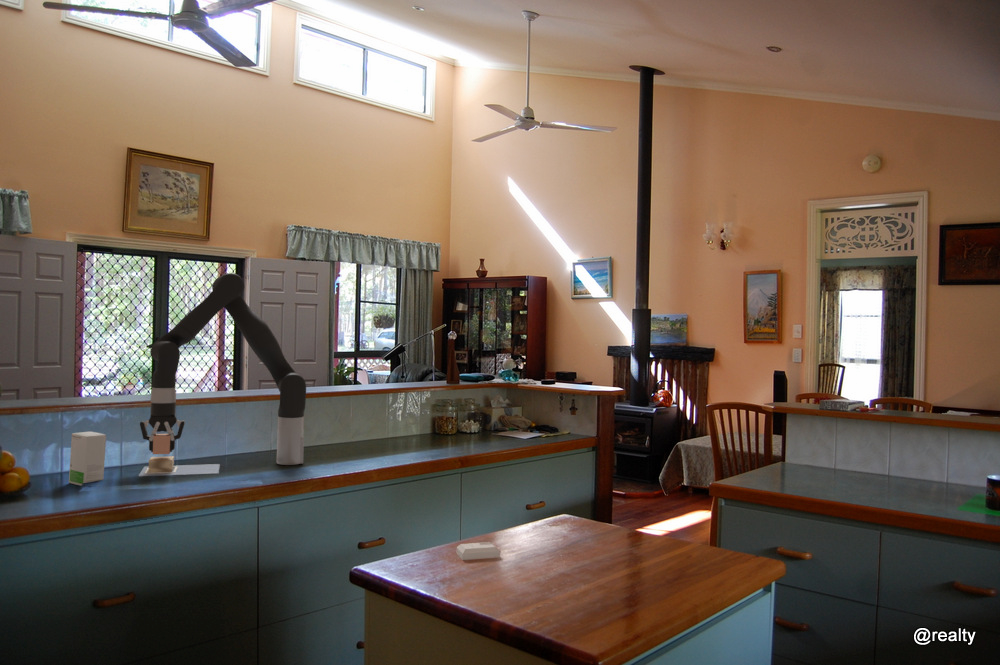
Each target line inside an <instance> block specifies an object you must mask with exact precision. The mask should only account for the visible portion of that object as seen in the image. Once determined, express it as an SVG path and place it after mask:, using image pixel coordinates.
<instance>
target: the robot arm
mask: <svg viewBox="0 0 1000 665" xmlns="http://www.w3.org/2000/svg"><path fill="white" fill-rule="evenodd" d="M211 288H212V289H211V290H212V291H211V292H210V293H209V294H208V295H207V296H206V298H204V300H203V301H201V302H200V303H199V304H198V305H197V306H195V307H193V309H191V310H190V311H189V312H188V313H187V314H185V316H184V317H183V318H182V319H181V320H180V321H179V322H177V324H176V325H175V326H174V327H173V328H172V329H171V330H169V331H168V332H166V333H165V334H163V335H162V336H161V337H160V338H158V339H157V340H156V341H155V342H154V343H153V345H152V346H151V348H150V357H151V359H153V360H155V361H156V362H157V366H156V370H154V372H153V373H152V381H151V383H152V384H151V385H152V387H151V394H150V417H149V419H148V420H147V419H146V420H142V421H140V423H139V426H140V431H141V434H142V439H143V440H146V441H148V442H149V443H148V444H149V445H148V449H149V452H150V451H151V452H150V453H153V436H155V435H156V434H158V433H159V432H166V433H167V434H169V435H170V439H171V441H170V453H172V452H173V451H175V447H176V441H177V440H178V439H179V440H180V439H181V437H182V434H183V431H184V427H185V424H186V421H185V420H184V419H183V420H179V419H177V417H176V404H177V402H176V401H177V392H176V390H177V389H176V381H177V380H176V378H177V377H176V374H177V372H178V366H179V363H180V360H181V359H180V358H181V355H180V354H181V353H180V348H181V347H182V346H185V345H187V344H188V343H190V342H191V341H193V339H195V337H196V336H197V335H198V334H199V333H200V332H201V331H202V330H203V329H204V328H205V327H206V326H207V325H208V323H209V322H210V321H211V320H213V318H214V317H215V316H216V315H217V314H218V313H219V312H220V311H221V310H222V309H224V310H226V312H227V313H228V314H229V316H231V318H232V320H233V321H234V323H235V325H236V327H237V328H238V330H239V331H240V332H241V335H242V336H243V338H244V339H245V341H246V343H248V344H247V345H248V346H250V348H251V350H252V351H253V352H254V354H255V355H256V356H257V358H258V359H259V360H260V361H261V363H262V364H263V365H264V366H265V367H266V369H267V370H268V372H269V373H270V376H271V377H272V379H273V381H274V383H275V385H276V387H277V389H278V391H279V405H278V410H277V411H278V412H277V433H276V434H277V435H276V436H277V437H276V438H277V439H276V440H277V442H276V464H277V465H281V466H282V465H285V466H289V465H291V466H292V465H294V466H295V465H299V464H300V465H301V464H302V465H303V464H304V448H305V447H304V445H305V444H304V443H305V439H304V429H305V428H304V427H305V426H304V423H305V411H306V410H305V409H306V404H307V402H306V401H307V400H306V399H307V383H306V380H305V378H304V377H303V376H301V375H300V374H298V373H297V372H296V371H295V369H293V367H291V364H290V363H289V362H288V360H287V359H286V358H285V355H284V353H283V351H282V348H281V345H280V344H279V342H278V339H277V338H276V336H275V334H274V333H273V331H272V330H271V328H270V327H269V326H268V324H267V323H266V321H264V320H263V318H261V316H259V315H258V314H257V313H256V312H254V310H253V309H251V307H250V306H249V305H248V303H246V301H245V299H244V297H243V295H242V294H243V292H244V289H245V282H244V280H243V278H242V277H241V276H240V275H238V274H237V273H234V272H233V273H231V272H229V273H224V274H222V275H221V276H219V277H217V278H216V279H215V280H214V281H213V282H212V287H211ZM148 425H150V426H151V427H152V431H151V434H150V435H148V431H147V427H149V426H148ZM175 425H177V427H178V430H177V433H176V434H175V432H174V430H173V427H174V426H175Z"/></svg>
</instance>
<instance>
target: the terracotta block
mask: <svg viewBox="0 0 1000 665" xmlns="http://www.w3.org/2000/svg"><path fill="white" fill-rule="evenodd" d="M170 441H171V439H170V435H169V434H168V433H156V435H155V436H153V452H152V455H169V454H170V453H171V452H170Z"/></svg>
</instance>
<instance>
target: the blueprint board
mask: <svg viewBox="0 0 1000 665" xmlns="http://www.w3.org/2000/svg"><path fill="white" fill-rule="evenodd" d="M220 467H221V464H220V463H213V464H185V465H184V464H182V465H177V464H176V465H175V464H174V469H173V471H172V472H155V473H148V471H149V465H148V466H143V468H142V470H141V471H140V473H139V474H138V477H157V476H184V475H185V476H187V475H211V474H220Z"/></svg>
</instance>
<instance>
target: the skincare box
mask: <svg viewBox="0 0 1000 665" xmlns="http://www.w3.org/2000/svg"><path fill="white" fill-rule="evenodd" d="M70 440H71V443H70V458H69V459H70V460H69V470H68V471H69V473H68V475H69V476H68V483H69V484H73V485H76V486H83V484H84V483H85V484H87V483H92V482H98V481H103V480H104V475H105V474H104V473H105V460H106V446H107V434H104V433H101V432H95V431H92V430H91V431H90V430H89V431H83V432H82V431H81V432H73V433H71V439H70ZM83 487H86V486H83Z"/></svg>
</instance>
